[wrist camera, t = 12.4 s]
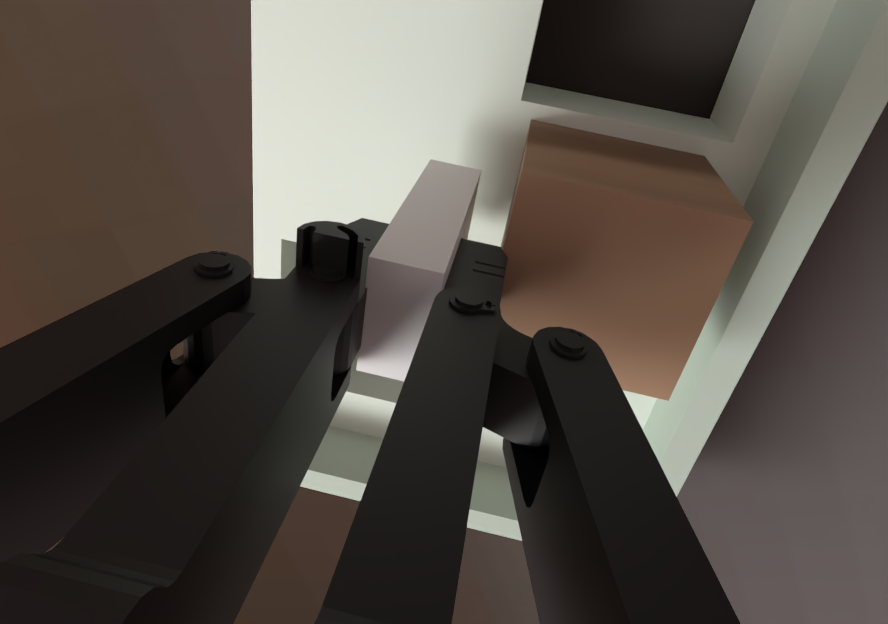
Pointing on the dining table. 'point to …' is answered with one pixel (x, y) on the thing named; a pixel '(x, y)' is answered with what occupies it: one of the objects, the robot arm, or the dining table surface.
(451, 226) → the robot arm
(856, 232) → the dining table surface
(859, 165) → the dining table surface
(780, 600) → the dining table surface
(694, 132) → the tray
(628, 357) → the walnut block
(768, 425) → the dining table surface
